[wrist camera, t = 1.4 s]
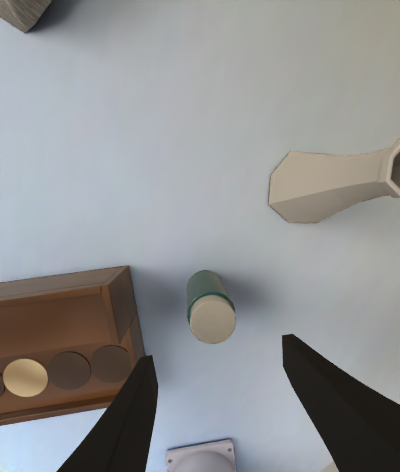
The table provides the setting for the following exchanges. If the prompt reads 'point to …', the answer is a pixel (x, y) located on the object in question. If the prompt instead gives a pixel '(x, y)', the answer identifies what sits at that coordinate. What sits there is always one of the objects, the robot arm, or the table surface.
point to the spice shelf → (66, 343)
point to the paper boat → (22, 12)
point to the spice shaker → (209, 308)
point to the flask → (332, 182)
